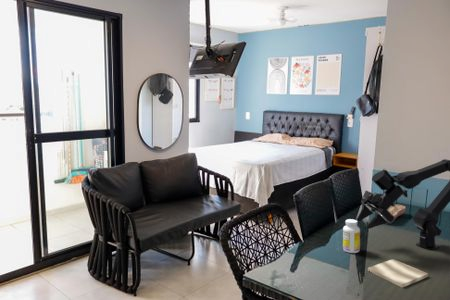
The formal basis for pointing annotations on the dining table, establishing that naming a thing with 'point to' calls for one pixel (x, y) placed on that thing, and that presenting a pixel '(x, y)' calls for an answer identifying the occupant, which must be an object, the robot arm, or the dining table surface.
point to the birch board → (398, 272)
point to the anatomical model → (396, 210)
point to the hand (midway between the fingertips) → (362, 224)
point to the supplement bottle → (351, 236)
